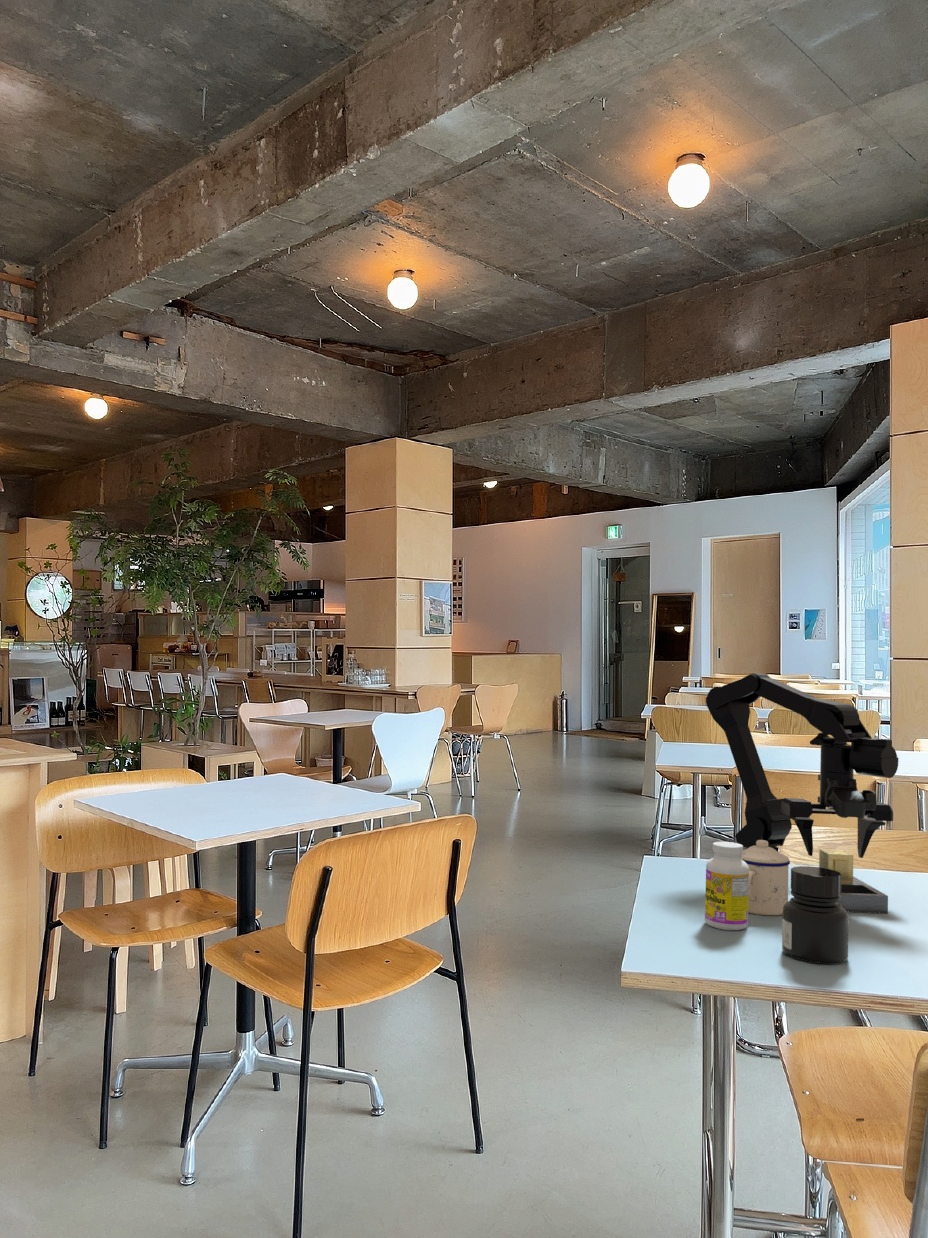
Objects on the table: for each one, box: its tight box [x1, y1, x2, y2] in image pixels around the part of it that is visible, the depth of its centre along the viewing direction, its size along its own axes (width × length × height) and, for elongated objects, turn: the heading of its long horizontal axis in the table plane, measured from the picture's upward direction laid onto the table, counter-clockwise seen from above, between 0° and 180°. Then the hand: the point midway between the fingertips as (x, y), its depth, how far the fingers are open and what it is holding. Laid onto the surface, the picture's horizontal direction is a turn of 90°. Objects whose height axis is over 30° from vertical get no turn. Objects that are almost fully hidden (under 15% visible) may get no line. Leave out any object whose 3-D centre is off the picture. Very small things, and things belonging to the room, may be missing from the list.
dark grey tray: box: [837, 875, 889, 915], centre depth 163 cm, size 9×15×3 cm, turn 179°
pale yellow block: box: [818, 848, 854, 883], centre depth 168 cm, size 4×6×5 cm
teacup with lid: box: [741, 840, 791, 916], centre depth 155 cm, size 12×9×12 cm
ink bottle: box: [781, 865, 850, 965], centre depth 131 cm, size 10×9×12 cm
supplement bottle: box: [704, 841, 749, 931], centre depth 145 cm, size 7×7×13 cm
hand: (835, 856), depth 168 cm, fingers open, 9 cm apart
